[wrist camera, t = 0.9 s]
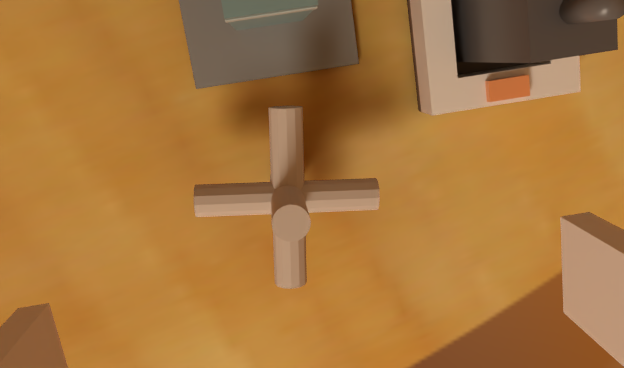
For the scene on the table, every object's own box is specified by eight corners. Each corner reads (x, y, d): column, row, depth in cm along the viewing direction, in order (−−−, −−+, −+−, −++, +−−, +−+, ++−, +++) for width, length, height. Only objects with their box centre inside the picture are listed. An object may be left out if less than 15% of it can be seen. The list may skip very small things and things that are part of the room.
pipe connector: (361, 98, 35) (398, 113, 25) (361, 248, 37) (395, 315, 28) (200, 102, 34) (174, 119, 25) (210, 255, 37) (190, 327, 27)
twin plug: (450, -6, 34) (561, -45, 21) (514, -16, 34) (663, -60, 21) (456, 61, 34) (566, 63, 22) (519, 52, 35) (664, 48, 22)
